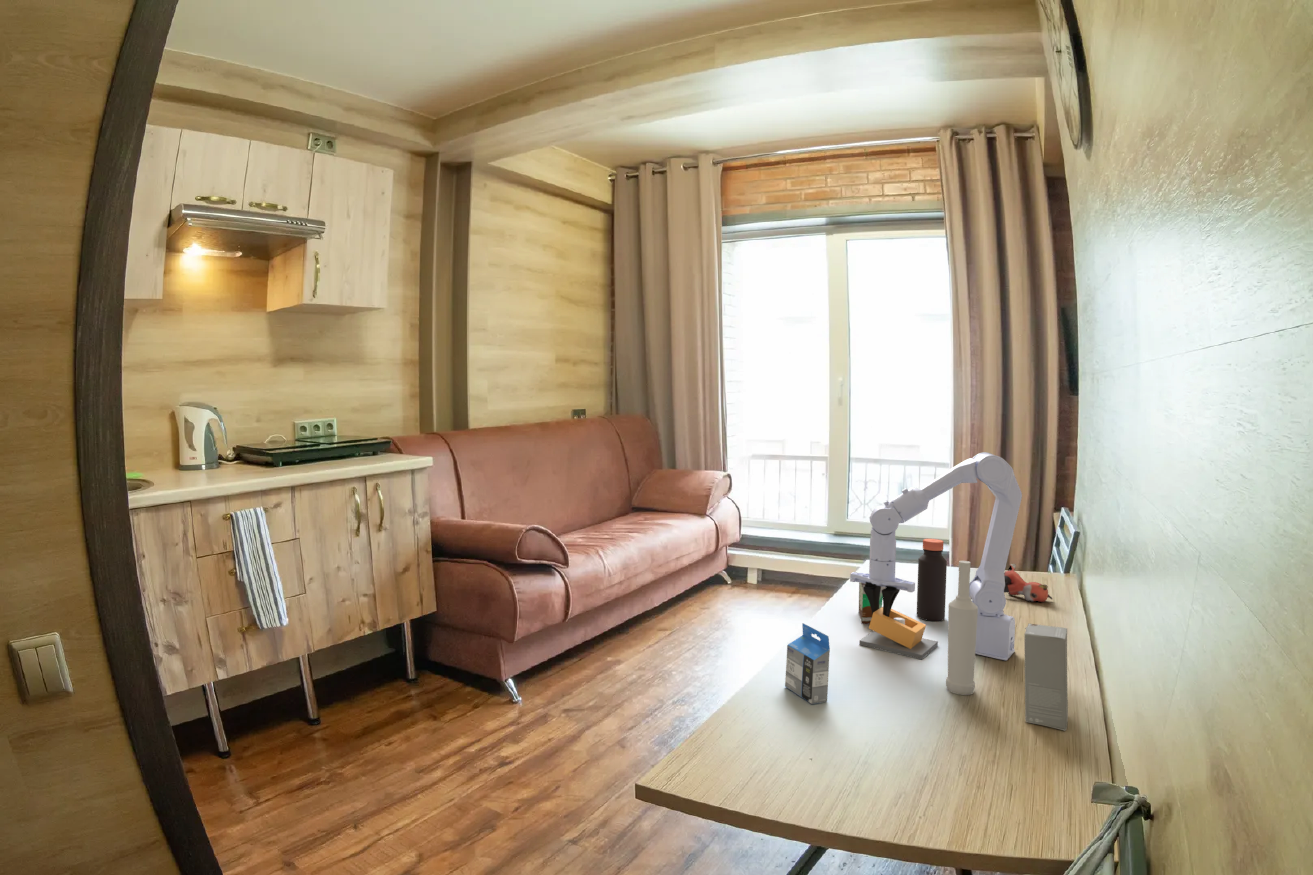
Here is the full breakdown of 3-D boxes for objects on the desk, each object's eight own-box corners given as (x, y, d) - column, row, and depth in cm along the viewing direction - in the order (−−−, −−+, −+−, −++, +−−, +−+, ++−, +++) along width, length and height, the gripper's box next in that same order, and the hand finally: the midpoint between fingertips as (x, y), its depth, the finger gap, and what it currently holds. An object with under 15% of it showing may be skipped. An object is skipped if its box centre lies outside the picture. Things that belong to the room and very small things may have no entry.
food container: (888, 627, 174) (889, 587, 173) (862, 625, 175) (863, 585, 174) (882, 612, 186) (883, 575, 185) (858, 610, 187) (859, 573, 186)
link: (921, 640, 161) (926, 624, 160) (910, 648, 156) (915, 632, 155) (879, 620, 167) (884, 605, 166) (868, 628, 162) (873, 612, 161)
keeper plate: (937, 645, 161) (938, 619, 161) (921, 659, 152) (922, 631, 152) (877, 632, 170) (878, 607, 169) (859, 644, 161) (860, 618, 161)
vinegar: (916, 619, 180) (918, 541, 179) (916, 612, 186) (919, 536, 185) (944, 622, 178) (947, 544, 176) (944, 615, 184) (947, 539, 183)
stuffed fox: (1011, 567, 209) (1056, 571, 201) (1006, 603, 205) (1052, 608, 197) (1004, 556, 205) (1050, 560, 197) (998, 593, 200) (1045, 598, 192)
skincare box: (1066, 732, 119) (1070, 640, 119) (1019, 721, 123) (1023, 632, 122) (1068, 713, 127) (1072, 626, 126) (1023, 704, 130) (1027, 619, 130)
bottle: (973, 686, 138) (978, 560, 137) (976, 697, 133) (981, 566, 132) (944, 682, 140) (949, 557, 138) (946, 693, 135) (950, 563, 134)
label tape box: (784, 686, 137) (785, 624, 136) (801, 683, 139) (803, 622, 138) (811, 705, 129) (812, 639, 128) (829, 701, 131) (831, 636, 130)
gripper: (845, 557, 164) (843, 614, 165) (908, 567, 155) (906, 628, 156) (857, 552, 170) (856, 607, 170) (918, 561, 161) (916, 620, 161)
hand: (880, 617), depth 163 cm, fingers closed on link, 2 cm apart
